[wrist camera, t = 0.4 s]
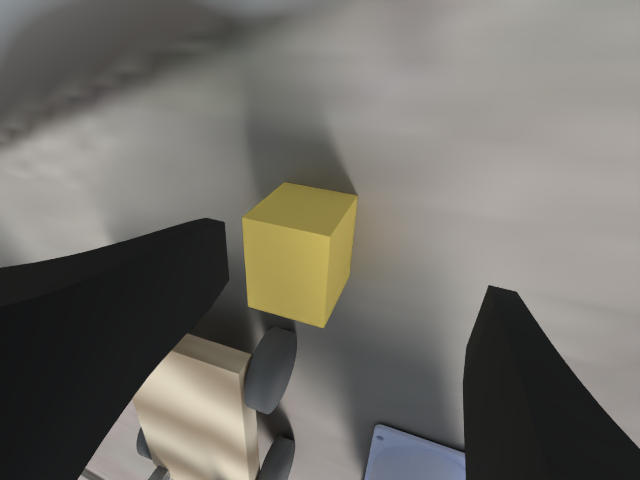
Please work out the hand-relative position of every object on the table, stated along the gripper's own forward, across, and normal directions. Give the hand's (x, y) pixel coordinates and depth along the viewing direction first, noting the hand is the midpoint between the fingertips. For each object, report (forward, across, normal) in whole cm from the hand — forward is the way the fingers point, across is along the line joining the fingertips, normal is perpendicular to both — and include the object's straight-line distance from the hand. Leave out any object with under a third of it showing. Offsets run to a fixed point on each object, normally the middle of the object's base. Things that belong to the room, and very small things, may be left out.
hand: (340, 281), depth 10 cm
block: (+9, +4, +4) cm, 11 cm away
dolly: (+9, +10, +19) cm, 24 cm away
